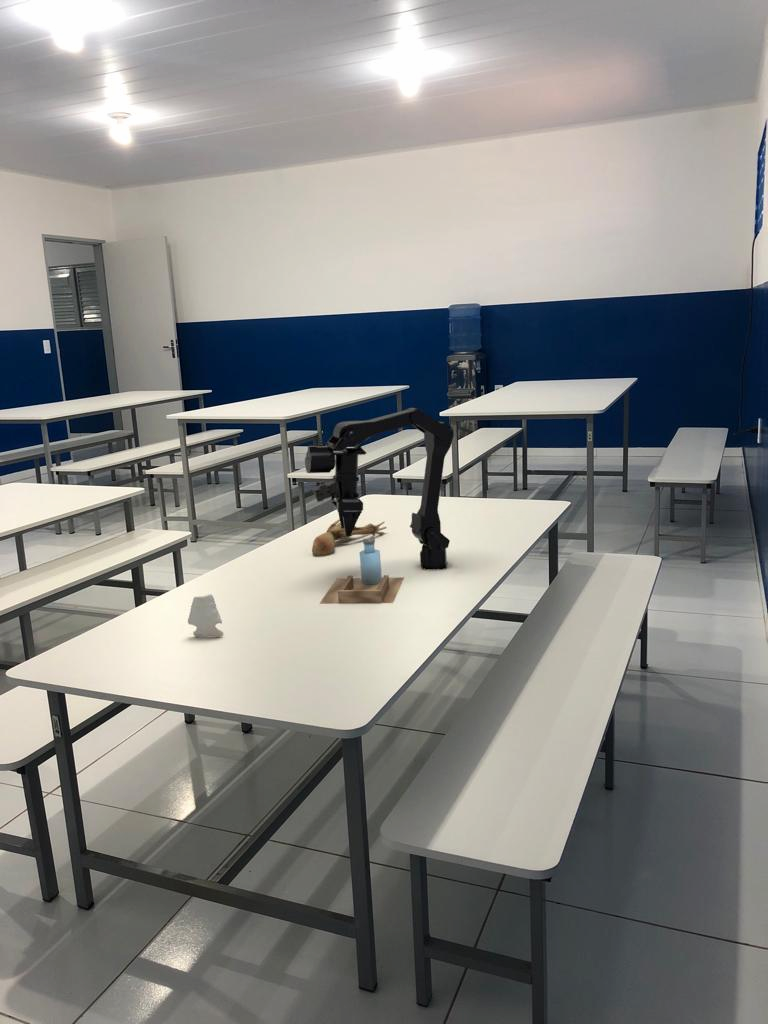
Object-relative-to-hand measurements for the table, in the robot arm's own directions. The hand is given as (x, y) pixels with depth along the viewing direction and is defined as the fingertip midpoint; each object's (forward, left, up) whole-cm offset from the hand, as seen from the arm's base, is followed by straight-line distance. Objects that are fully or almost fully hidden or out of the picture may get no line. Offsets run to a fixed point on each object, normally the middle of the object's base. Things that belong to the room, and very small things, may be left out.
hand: (345, 532), depth 217 cm
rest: (-5, +8, -14) cm, 17 cm away
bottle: (-6, +2, -13) cm, 14 cm away
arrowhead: (+25, +38, -14) cm, 47 cm away
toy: (+11, -39, -14) cm, 43 cm away
